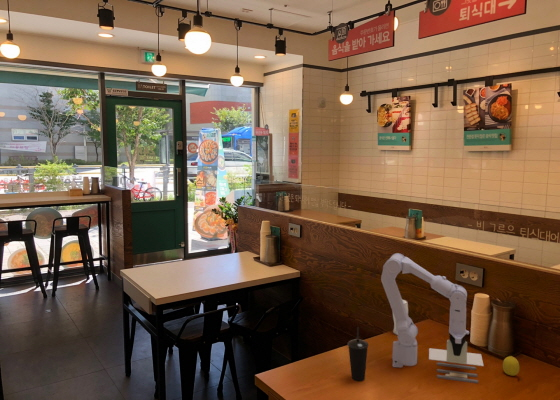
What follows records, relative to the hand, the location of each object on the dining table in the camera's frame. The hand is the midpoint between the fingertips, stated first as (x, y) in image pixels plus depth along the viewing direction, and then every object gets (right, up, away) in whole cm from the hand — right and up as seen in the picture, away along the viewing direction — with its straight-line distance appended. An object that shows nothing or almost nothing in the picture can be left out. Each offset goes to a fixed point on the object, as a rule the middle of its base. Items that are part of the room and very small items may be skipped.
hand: (456, 353), depth 171 cm
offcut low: (-2, -8, -3) cm, 9 cm away
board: (+4, -6, +12) cm, 14 cm away
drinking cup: (-37, -9, -1) cm, 38 cm away
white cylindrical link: (-11, -4, +39) cm, 40 cm away
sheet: (0, -3, 0) cm, 3 cm away
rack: (0, -8, -1) cm, 8 cm away
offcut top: (-1, -7, -4) cm, 8 cm away
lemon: (+19, -8, -2) cm, 21 cm away
